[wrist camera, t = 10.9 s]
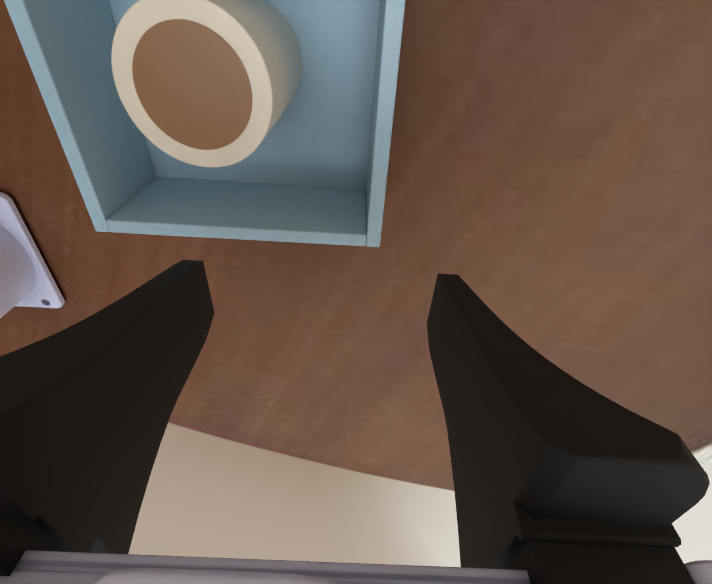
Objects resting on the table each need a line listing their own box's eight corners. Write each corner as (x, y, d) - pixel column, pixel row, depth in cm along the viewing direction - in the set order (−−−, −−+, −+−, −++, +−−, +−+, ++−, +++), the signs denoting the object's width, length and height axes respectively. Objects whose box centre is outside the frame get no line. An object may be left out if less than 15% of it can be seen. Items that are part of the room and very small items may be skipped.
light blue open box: (151, 183, 21) (95, 231, 16) (58, -154, 13) (-89, -228, 9) (376, 196, 21) (379, 247, 17) (405, -128, 14) (425, -189, 9)
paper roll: (206, 113, 18) (136, 164, 13) (186, -10, 15) (84, -16, 10) (304, 119, 18) (277, 172, 13) (301, -2, 15) (265, -4, 10)
